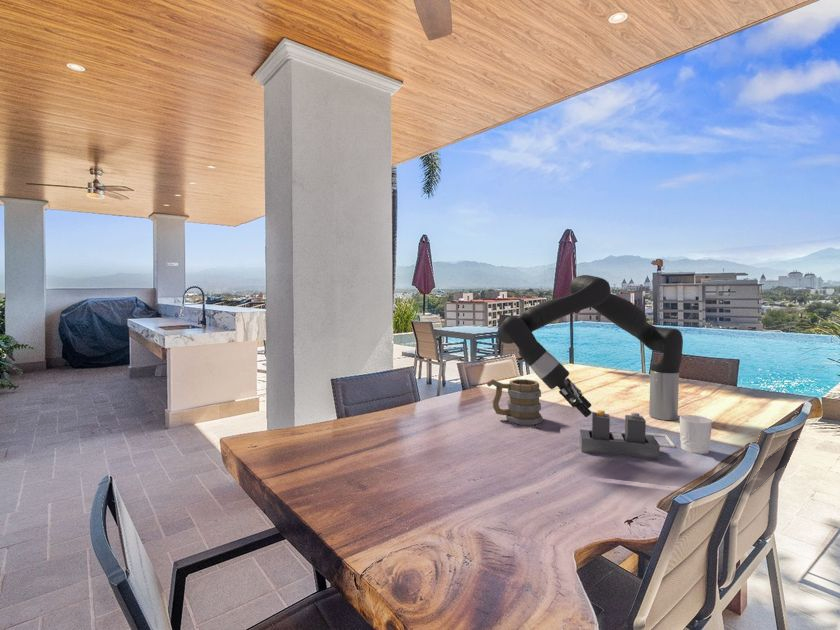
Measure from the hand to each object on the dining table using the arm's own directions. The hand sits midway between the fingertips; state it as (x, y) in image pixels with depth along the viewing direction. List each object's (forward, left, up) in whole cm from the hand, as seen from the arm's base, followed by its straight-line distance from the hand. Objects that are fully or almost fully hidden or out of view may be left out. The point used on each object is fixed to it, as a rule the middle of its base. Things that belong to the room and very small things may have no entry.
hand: (589, 411), depth 124 cm
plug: (0, +3, -11) cm, 11 cm away
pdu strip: (0, +8, -12) cm, 14 cm away
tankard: (-25, -24, -12) cm, 37 cm away
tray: (-12, +19, -12) cm, 26 cm away
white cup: (-8, +29, -12) cm, 33 cm away
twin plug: (0, +12, -11) cm, 16 cm away
